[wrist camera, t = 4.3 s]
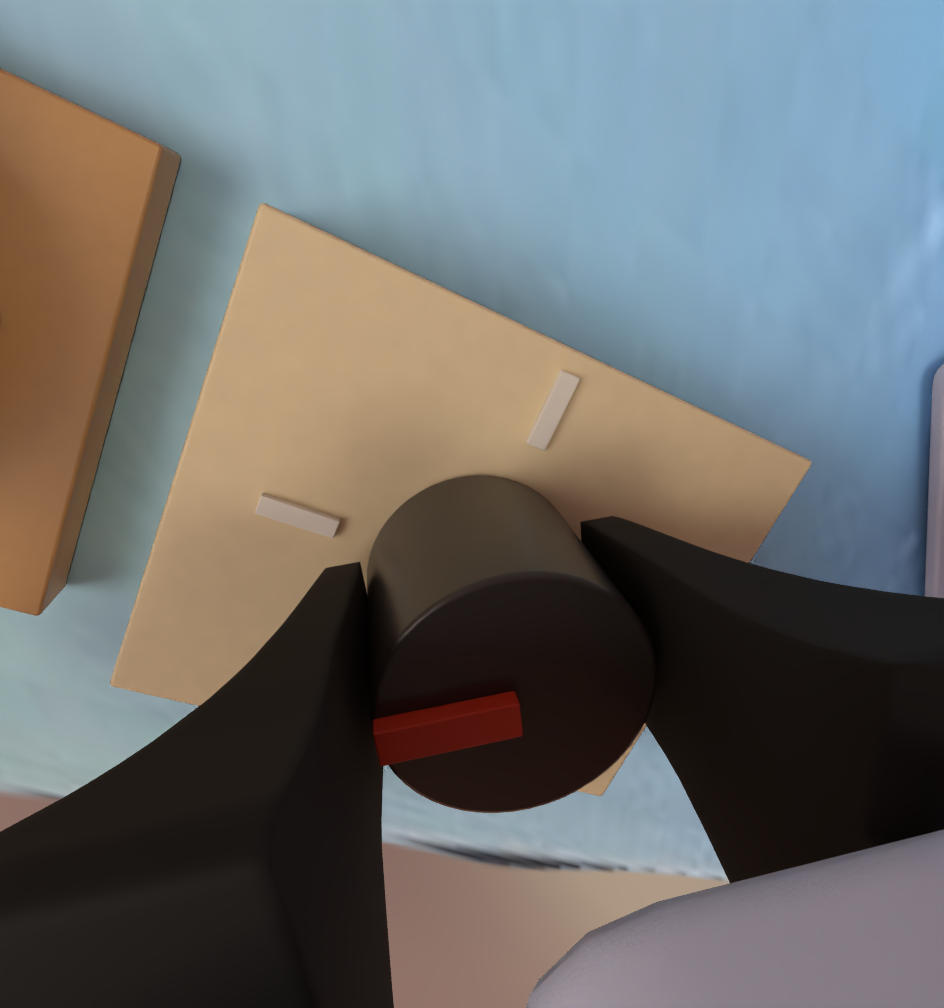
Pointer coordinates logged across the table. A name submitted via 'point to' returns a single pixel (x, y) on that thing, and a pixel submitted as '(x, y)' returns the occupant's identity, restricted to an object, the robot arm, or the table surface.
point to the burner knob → (498, 650)
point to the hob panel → (400, 448)
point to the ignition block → (64, 315)
